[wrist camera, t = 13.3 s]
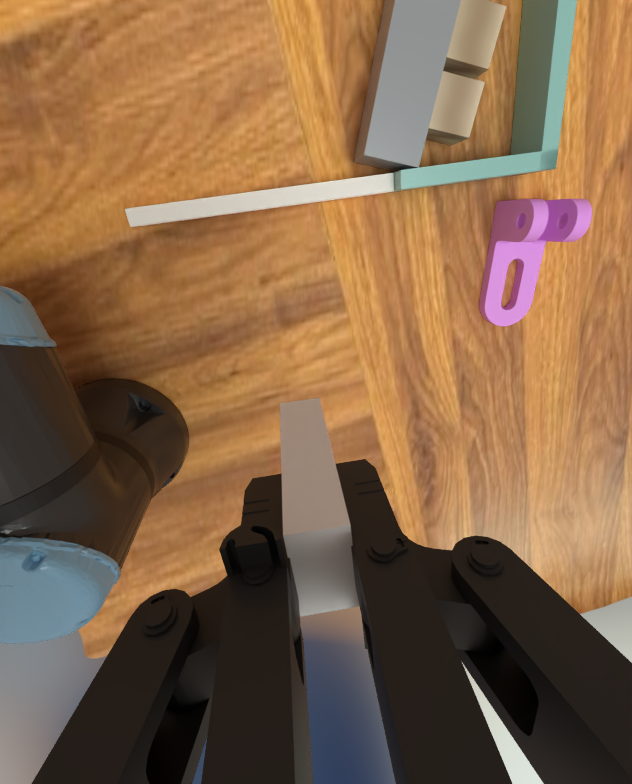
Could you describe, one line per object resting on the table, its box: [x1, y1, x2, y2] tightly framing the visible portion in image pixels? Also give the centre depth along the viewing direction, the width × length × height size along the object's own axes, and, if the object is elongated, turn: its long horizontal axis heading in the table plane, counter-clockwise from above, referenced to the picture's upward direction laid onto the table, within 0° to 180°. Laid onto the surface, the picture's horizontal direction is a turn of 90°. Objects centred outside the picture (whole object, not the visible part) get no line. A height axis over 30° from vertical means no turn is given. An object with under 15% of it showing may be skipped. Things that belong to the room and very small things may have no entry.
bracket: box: [479, 199, 592, 326], centre depth 39 cm, size 13×6×7 cm, turn 0°
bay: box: [388, 0, 577, 193], centre depth 31 cm, size 14×23×5 cm, turn 7°
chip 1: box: [443, 0, 506, 79], centre depth 32 cm, size 4×4×4 cm
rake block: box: [354, 0, 461, 172], centre depth 32 cm, size 5×14×5 cm, turn 169°
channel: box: [125, 173, 394, 227], centre depth 31 cm, size 24×23×3 cm
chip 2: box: [426, 71, 485, 146], centre depth 34 cm, size 4×4×4 cm
